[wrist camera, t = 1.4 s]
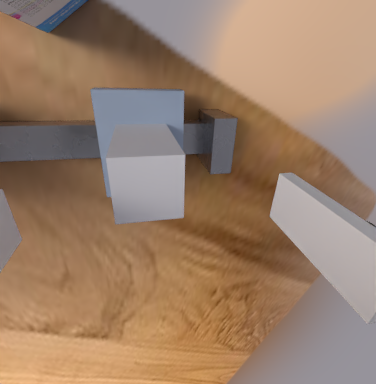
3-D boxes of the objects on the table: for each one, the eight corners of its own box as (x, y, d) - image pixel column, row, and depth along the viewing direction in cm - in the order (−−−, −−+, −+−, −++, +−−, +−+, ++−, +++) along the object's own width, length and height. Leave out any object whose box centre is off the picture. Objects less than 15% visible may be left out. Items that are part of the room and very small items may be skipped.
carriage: (110, 180, 24) (94, 260, 14) (96, 86, 20) (60, 103, 10) (176, 176, 25) (204, 246, 15) (176, 87, 21) (216, 104, 11)
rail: (-34, 166, 21) (-76, 191, 17) (-59, 109, 19) (-116, 121, 14) (214, 155, 26) (230, 173, 22) (218, 109, 24) (237, 118, 19)
